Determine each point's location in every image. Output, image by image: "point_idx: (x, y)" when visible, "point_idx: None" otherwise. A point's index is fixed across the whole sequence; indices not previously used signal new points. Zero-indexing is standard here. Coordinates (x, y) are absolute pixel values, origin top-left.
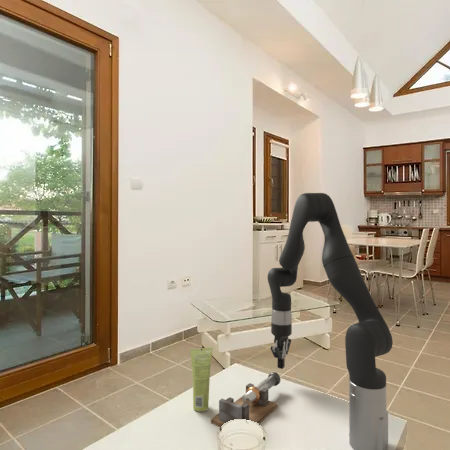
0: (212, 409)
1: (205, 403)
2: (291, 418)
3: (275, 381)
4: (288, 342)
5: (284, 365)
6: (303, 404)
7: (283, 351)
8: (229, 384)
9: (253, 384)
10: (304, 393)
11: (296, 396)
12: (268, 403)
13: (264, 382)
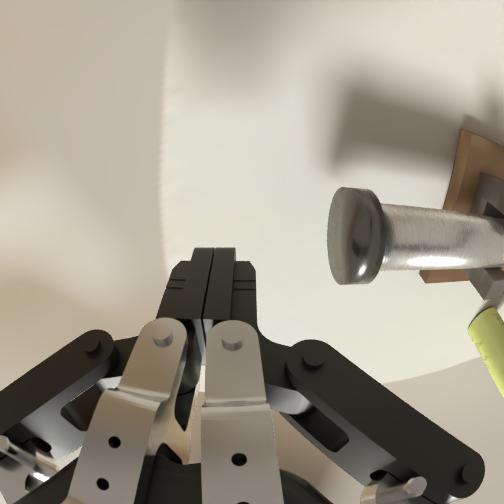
0: (487, 300)
1: (501, 320)
2: (495, 61)
3: (400, 210)
4: (12, 450)
5: (193, 256)
6: (381, 11)
7: (268, 433)
8: (342, 354)
9: (494, 281)
10: (245, 33)
11: (316, 61)
12: (480, 171)
13: (481, 251)
